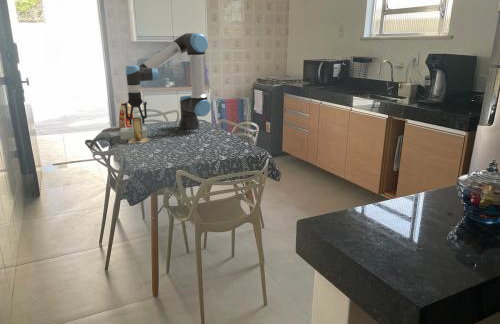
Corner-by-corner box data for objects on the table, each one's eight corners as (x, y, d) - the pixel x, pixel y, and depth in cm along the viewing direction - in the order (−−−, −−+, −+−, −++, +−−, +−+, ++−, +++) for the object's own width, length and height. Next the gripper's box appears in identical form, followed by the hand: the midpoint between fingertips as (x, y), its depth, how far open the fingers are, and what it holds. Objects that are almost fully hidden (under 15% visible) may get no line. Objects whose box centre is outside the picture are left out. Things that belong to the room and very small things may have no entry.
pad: (148, 138, 244) (148, 137, 244) (148, 142, 235) (148, 141, 235) (128, 139, 241) (128, 138, 241) (128, 143, 232) (128, 142, 232)
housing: (146, 134, 256) (146, 126, 255) (146, 138, 245) (146, 130, 243) (121, 135, 252) (121, 128, 251) (120, 139, 241) (120, 132, 240)
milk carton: (126, 130, 265) (123, 102, 259) (118, 128, 271) (115, 100, 264) (137, 128, 272) (134, 100, 266) (129, 126, 277) (126, 99, 271)
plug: (142, 137, 241) (140, 117, 237) (142, 139, 236) (140, 118, 232) (134, 137, 239) (132, 117, 235) (134, 139, 235) (132, 119, 231)
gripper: (149, 90, 235) (152, 127, 242) (119, 91, 230) (122, 129, 237) (149, 92, 228) (152, 130, 235) (118, 93, 223) (122, 131, 230)
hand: (137, 129), depth 236 cm, fingers closed on plug, 5 cm apart
